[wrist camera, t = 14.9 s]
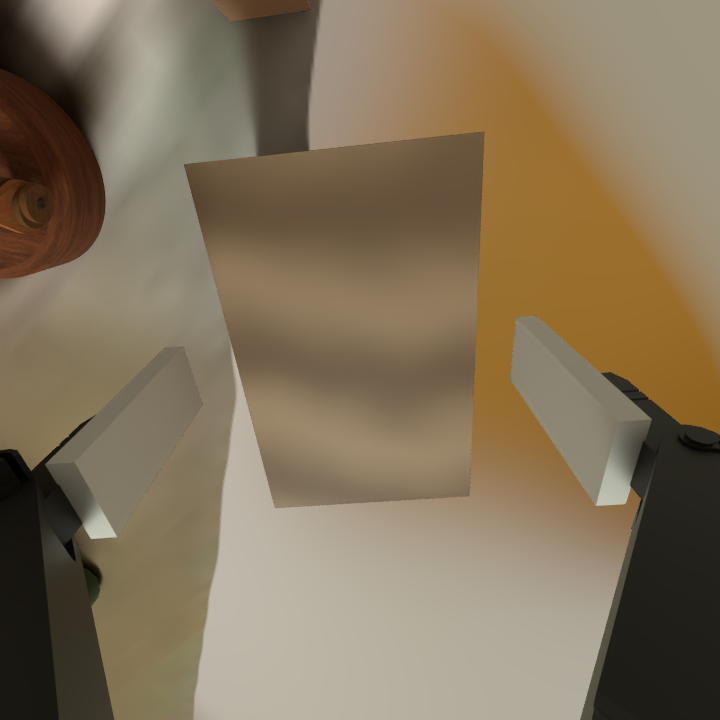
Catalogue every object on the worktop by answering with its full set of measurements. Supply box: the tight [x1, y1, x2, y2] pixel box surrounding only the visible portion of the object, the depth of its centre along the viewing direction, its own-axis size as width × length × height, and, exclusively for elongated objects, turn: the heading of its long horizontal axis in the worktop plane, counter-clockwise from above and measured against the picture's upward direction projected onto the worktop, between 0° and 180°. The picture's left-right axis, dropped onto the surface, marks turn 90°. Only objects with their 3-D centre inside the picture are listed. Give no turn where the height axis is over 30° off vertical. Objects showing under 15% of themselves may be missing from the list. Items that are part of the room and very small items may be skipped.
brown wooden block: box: [184, 132, 484, 508], centre depth 21 cm, size 16×10×10 cm, turn 5°
